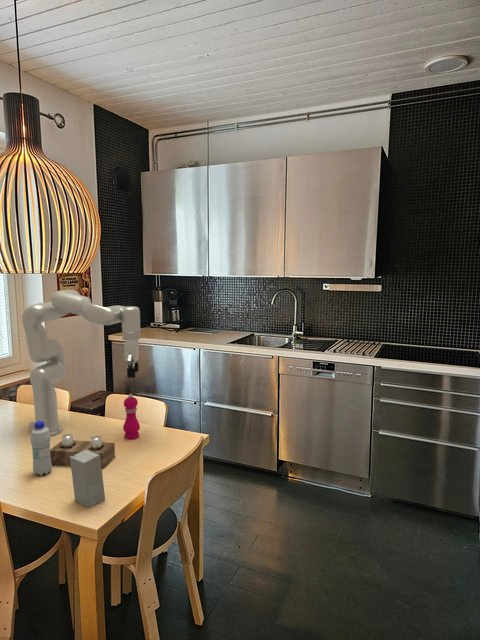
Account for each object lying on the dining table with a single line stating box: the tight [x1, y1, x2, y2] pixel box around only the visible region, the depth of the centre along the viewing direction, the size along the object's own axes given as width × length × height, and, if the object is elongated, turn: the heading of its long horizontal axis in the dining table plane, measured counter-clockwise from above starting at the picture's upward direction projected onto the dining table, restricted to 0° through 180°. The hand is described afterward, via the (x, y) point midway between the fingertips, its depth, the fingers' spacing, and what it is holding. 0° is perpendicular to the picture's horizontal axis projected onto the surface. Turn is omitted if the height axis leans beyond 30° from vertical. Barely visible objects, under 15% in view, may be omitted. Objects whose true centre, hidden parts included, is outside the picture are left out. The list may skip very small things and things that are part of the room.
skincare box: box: [70, 450, 106, 508], centre depth 137 cm, size 8×7×16 cm
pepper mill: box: [122, 393, 141, 441], centre depth 187 cm, size 7×7×20 cm
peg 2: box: [90, 435, 103, 451], centre depth 164 cm, size 4×4×6 cm
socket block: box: [50, 439, 116, 470], centre depth 165 cm, size 22×10×6 cm, turn 82°
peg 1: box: [61, 433, 74, 449], centre depth 165 cm, size 4×4×6 cm
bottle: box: [30, 421, 53, 477], centre depth 155 cm, size 7×7×20 cm
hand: (133, 374), depth 181 cm, fingers open, 9 cm apart
